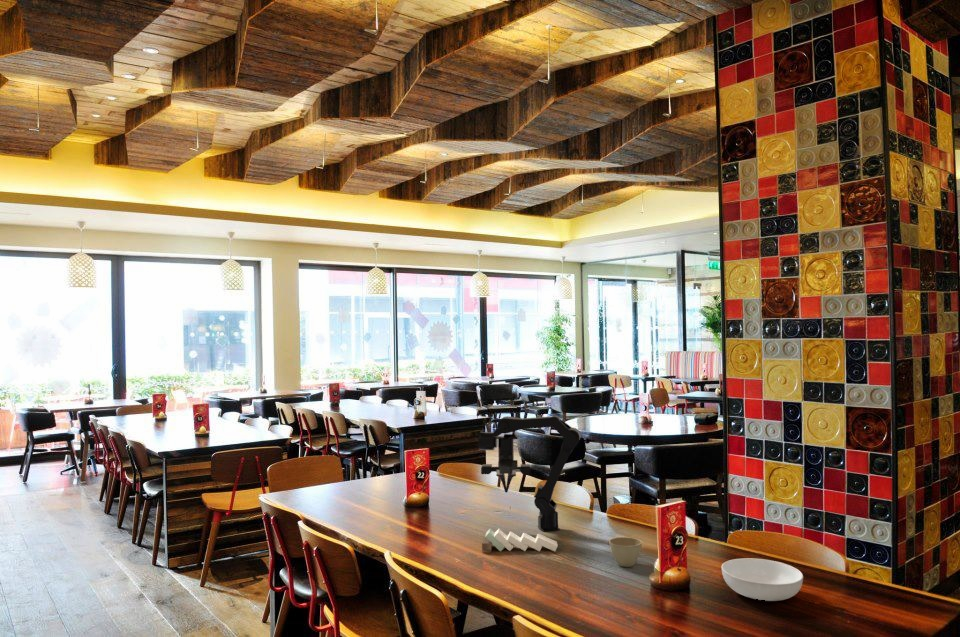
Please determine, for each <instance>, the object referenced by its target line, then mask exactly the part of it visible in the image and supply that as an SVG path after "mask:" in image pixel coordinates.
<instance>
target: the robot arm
mask: <svg viewBox="0 0 960 637" xmlns="http://www.w3.org/2000/svg"><path fill="white" fill-rule="evenodd" d="M541 428H544V429H545V428H553V429H554V430H555V431H556V432H557V433H558V434H559V435H560V436H561V437H563V439H562V444H561V448H560V451H559V454H558V455H557V458H556V460H555V462H554V464H553V466H552V468H551V470H550V473H549V476H547V480H546V482H545V483H544V484H541V483H540V484H539V485H538V488H537V491H536V492H535V494H534V495H533V498H534V500H533V502H534V503H533V504H534V505H535V507H536V508H537V509H538V510H539V511H538V512H539V513H538V514H539V515H538V517H537V522H538V523H537V524H538V525H537V527H538V529H540V530H541V531H543V532H551V531H552V532H553V531H560V527H559V513H558V511H556V510H557V506H558V503H557V502H555V500H554V499H553V494H554V491H555V487H556V484H557V482H558V480H559V478H560V476H561V474H562V472H563V469H564V467H565V465H566V463H567V461H568V459H569V457H570V455H571V453H572V452H573V450H575V448H576V447H577V445H578V444H579V442H580V440H581V437H582V435H581V432H580V430H579V429H578V428H576V427H572V426H571V425H569V424H568V423H566V422H565V421H564V420H563V419H561V418H560V416H558V415H551V416H540V417H539V416H538V417H526V418H525V417H524V418H523V417H517V416H503V417H502V418H500V419H499V420H498V421H497V427H496V429H495V430H494V431H493V432H487V431H480V432H479V437H478V442H477V448H478V450H479V451H495V449H496V448H498V456H497V457H498V462H497V466H493V464H491V463H484V464H482V465H481V466H480V474H481V475H490V474H491V473H493V472H496V474H495V475H496V477H499V479H500V481H501V484H502V487H503V489H504V492H505V493H508V491H509V489H510V485H511V482H512V479H513V478H514V477H516V476H517V472H518V473H519V472H520V473H521V474H522V475H532V466H531V464H530V463H529V464H526V463H521V464H520V466H519V465H518V464H519V463H518V459H514V456H515V455H514V453H515V450H514V446H515V445H514V440H518V439H519V435H518V434H516V431H520V430H528V429H541ZM501 434H503V435H501ZM500 435H501V436H500ZM505 474H507V478H506V475H505ZM506 479H507V480H506Z"/></svg>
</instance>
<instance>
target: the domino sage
mask: <svg viewBox="0 0 960 637" xmlns="http://www.w3.org/2000/svg"><path fill="white" fill-rule="evenodd" d="M494 536H495V531H493V530H492V528H489V529H488V530H487V531H486V532H485V536H484V537H486V538H487V539H488V540H489V541H490V542H491V543H492V546H494V547H495V548H496V549H497V550H498V551H499V552H500V553H501V552H502V551H503V550H504V549H505V548H506V547H505V546H504V545H503V544H501V543H500V542H499V541H498V540H497V539H496V538H495V537H494Z"/></svg>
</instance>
